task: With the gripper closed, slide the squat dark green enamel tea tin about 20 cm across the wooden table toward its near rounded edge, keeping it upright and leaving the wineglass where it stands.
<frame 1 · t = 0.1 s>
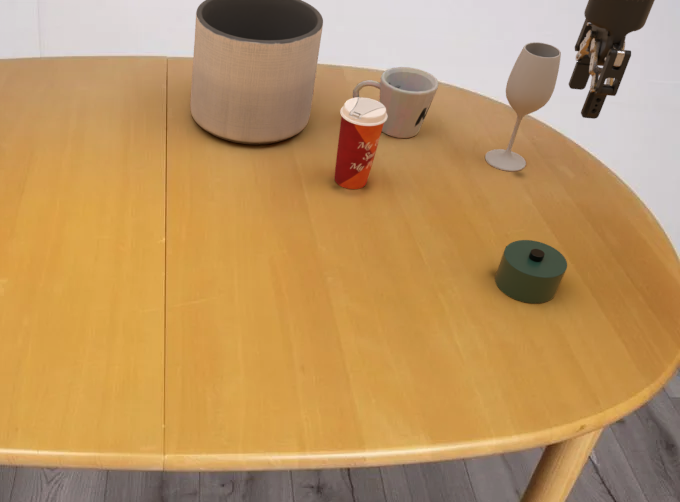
hand: (582, 102, 122), 25 cm above the table, tool pointing down, fingers open, 8 cm apart
mug: (386, 128, 166), on the table
tea tin: (525, 284, 132), on the table
paper cup: (350, 181, 151), on the table
wineglass: (504, 161, 158), on the table
planter: (249, 119, 166), on the table
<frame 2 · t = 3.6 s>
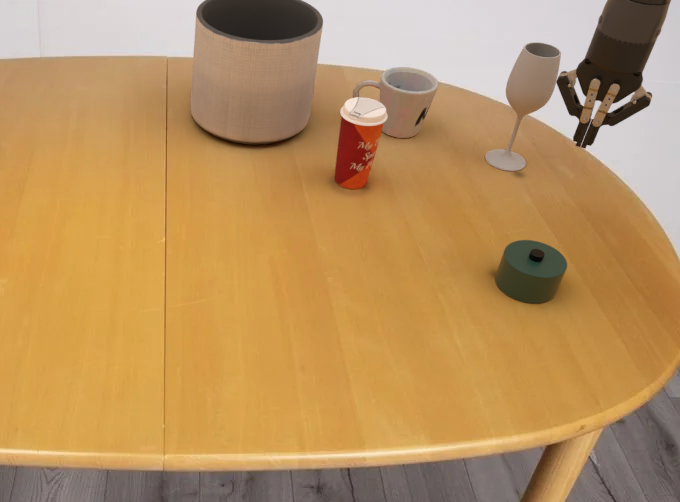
hand: (581, 144, 126), 19 cm above the table, tool pointing down, fingers closed
nothing on the table moved.
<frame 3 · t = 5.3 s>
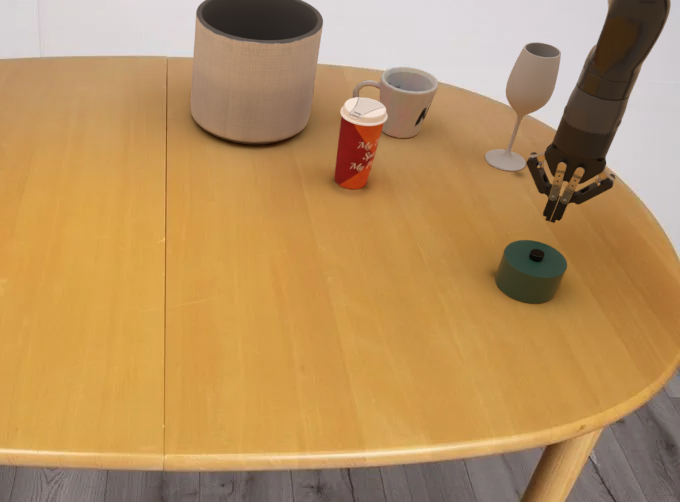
hand: (550, 219, 135), 6 cm above the table, tool pointing down, fingers closed
nothing on the table moved.
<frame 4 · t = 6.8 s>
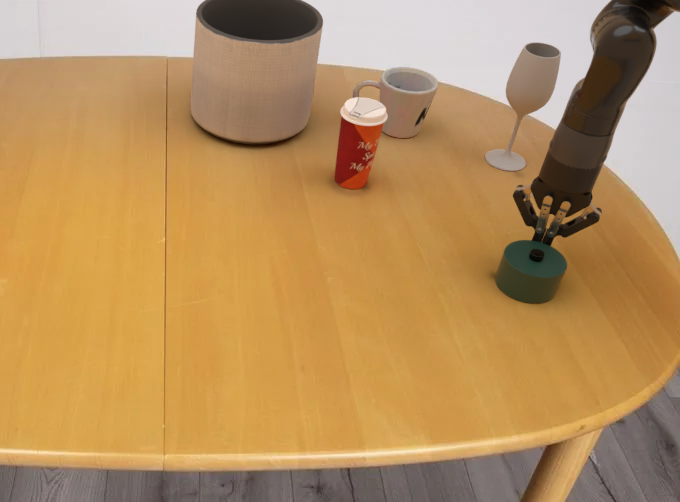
hand: (537, 251, 134), 3 cm above the table, tool pointing down, fingers closed
tea tin: (525, 284, 132), on the table, touching gripper
everything else where it was.
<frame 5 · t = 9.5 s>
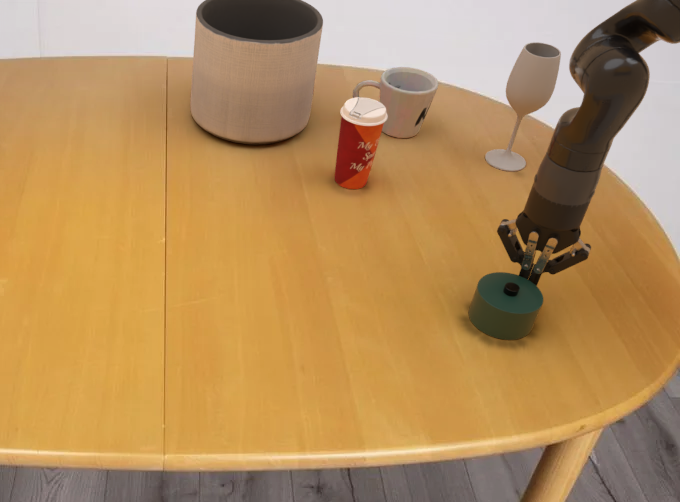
hand: (524, 287, 127), 3 cm above the table, tool pointing down, fingers closed
tea tin: (500, 318, 126), on the table, touching gripper
everything else where it was.
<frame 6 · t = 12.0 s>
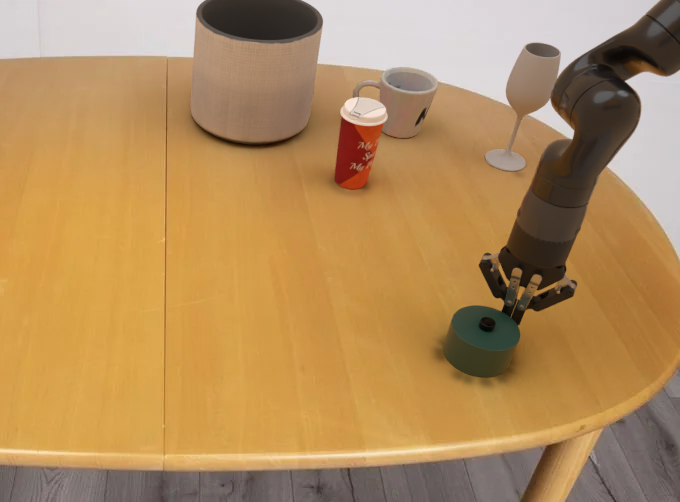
hand: (508, 323, 121), 3 cm above the table, tool pointing down, fingers closed
tea tin: (475, 354, 120), on the table, touching gripper
everything else where it was.
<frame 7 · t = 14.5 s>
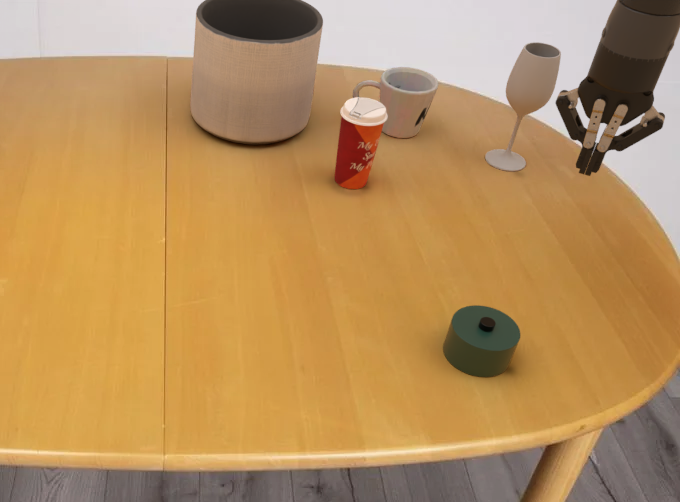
hand: (585, 171, 112), 23 cm above the table, tool pointing down, fingers closed
tea tin: (475, 354, 120), on the table
everything else where it was.
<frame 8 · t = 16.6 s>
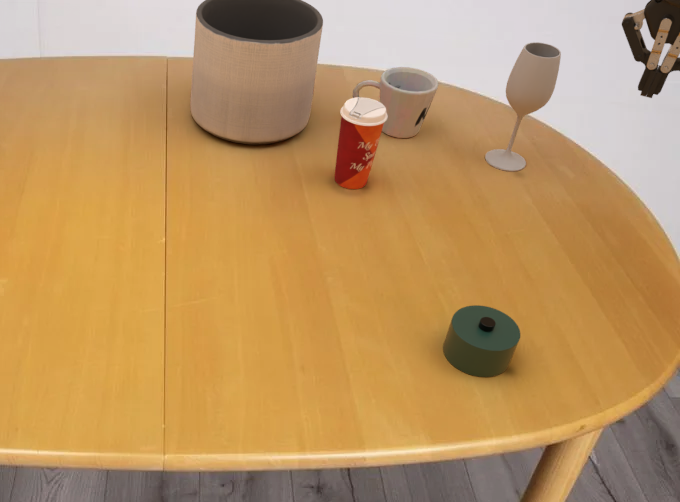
hand: (646, 94, 116), 29 cm above the table, tool pointing down, fingers closed
nothing on the table moved.
at the end: tea tin inside the target area (2.3 cm from its centre), on the table; tea tin tilted 0°; wineglass moved 0.2 cm from its start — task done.
